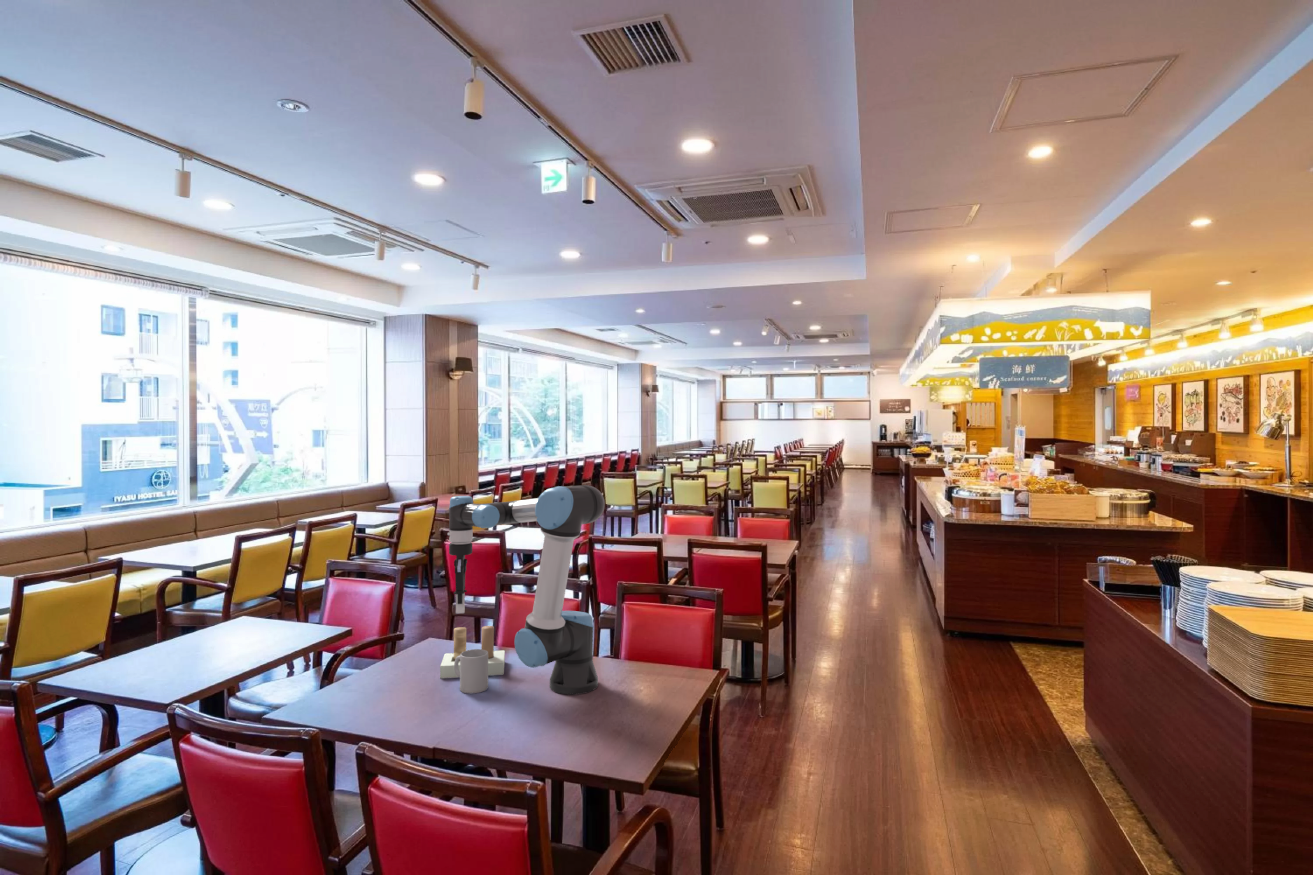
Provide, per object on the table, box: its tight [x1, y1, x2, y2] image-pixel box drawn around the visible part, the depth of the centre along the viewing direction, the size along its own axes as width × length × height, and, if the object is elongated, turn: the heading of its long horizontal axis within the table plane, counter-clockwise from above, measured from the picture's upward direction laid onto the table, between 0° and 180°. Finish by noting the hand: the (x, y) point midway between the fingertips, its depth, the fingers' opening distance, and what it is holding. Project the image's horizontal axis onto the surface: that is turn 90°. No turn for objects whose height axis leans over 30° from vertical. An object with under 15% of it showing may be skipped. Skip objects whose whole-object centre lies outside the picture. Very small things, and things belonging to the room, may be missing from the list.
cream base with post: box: [439, 625, 506, 679], centre depth 224 cm, size 20×13×14 cm, turn 101°
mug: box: [454, 648, 489, 695], centre depth 207 cm, size 12×8×11 cm
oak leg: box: [453, 626, 467, 661], centre depth 223 cm, size 4×4×14 cm
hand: (460, 612), depth 223 cm, fingers closed
